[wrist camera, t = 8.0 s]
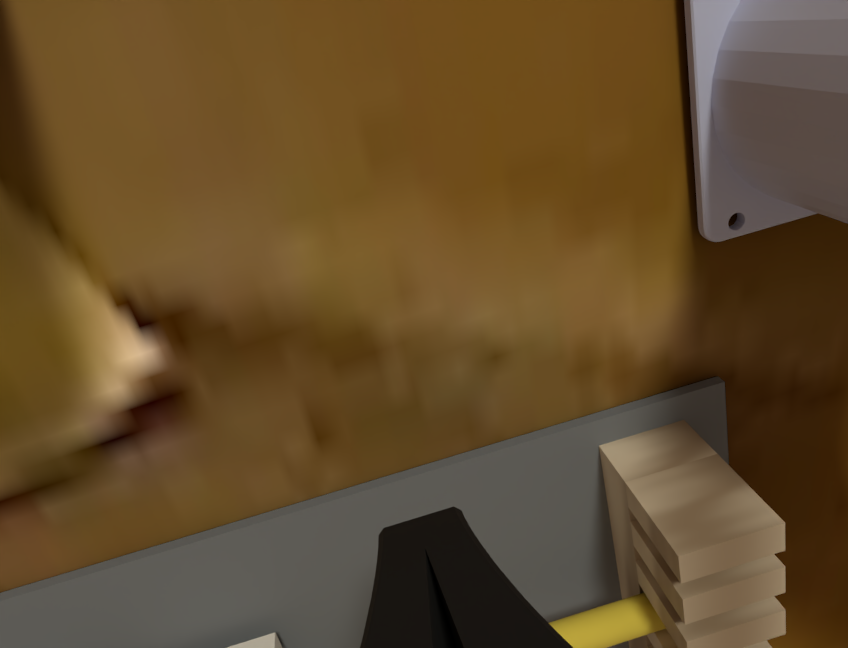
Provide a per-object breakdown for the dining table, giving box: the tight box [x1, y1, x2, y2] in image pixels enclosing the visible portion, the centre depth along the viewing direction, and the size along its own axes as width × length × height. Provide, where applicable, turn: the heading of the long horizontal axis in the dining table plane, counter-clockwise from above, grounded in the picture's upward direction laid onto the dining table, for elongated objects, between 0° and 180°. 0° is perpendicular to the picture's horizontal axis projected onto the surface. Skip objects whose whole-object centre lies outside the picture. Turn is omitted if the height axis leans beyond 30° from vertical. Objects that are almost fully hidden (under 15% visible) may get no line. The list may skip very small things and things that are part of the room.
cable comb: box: [599, 420, 786, 648], centre depth 22 cm, size 3×10×5 cm, turn 14°
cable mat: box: [0, 376, 729, 648], centre depth 24 cm, size 27×12×1 cm, turn 104°
